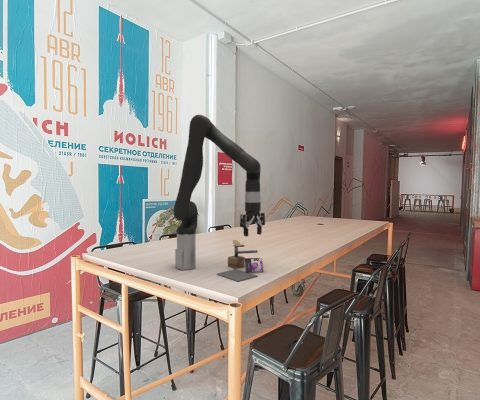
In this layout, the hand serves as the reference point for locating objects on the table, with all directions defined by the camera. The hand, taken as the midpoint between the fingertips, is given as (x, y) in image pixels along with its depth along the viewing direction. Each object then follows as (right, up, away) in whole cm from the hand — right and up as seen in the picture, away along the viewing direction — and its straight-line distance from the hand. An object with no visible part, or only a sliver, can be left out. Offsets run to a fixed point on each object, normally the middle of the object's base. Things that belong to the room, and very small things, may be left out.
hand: (252, 235), depth 153 cm
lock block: (-8, -17, +10) cm, 21 cm away
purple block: (0, -18, 0) cm, 18 cm away
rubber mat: (-8, -18, -6) cm, 20 cm away
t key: (-3, -12, +11) cm, 16 cm away
